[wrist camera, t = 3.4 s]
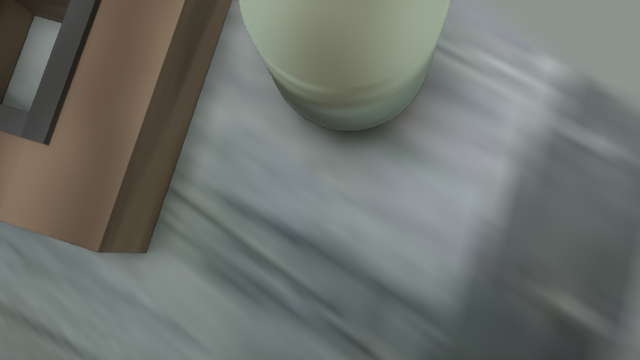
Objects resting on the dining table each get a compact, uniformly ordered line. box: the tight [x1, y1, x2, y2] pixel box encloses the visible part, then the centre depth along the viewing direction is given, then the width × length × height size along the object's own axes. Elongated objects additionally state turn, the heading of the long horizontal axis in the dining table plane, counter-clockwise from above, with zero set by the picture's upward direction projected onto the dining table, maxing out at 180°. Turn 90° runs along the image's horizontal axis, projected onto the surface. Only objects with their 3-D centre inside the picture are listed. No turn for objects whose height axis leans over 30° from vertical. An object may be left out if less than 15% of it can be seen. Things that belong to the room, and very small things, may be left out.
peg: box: [239, 0, 451, 131], centre depth 22 cm, size 6×6×10 cm
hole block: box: [0, 0, 231, 253], centre depth 26 cm, size 14×14×5 cm
